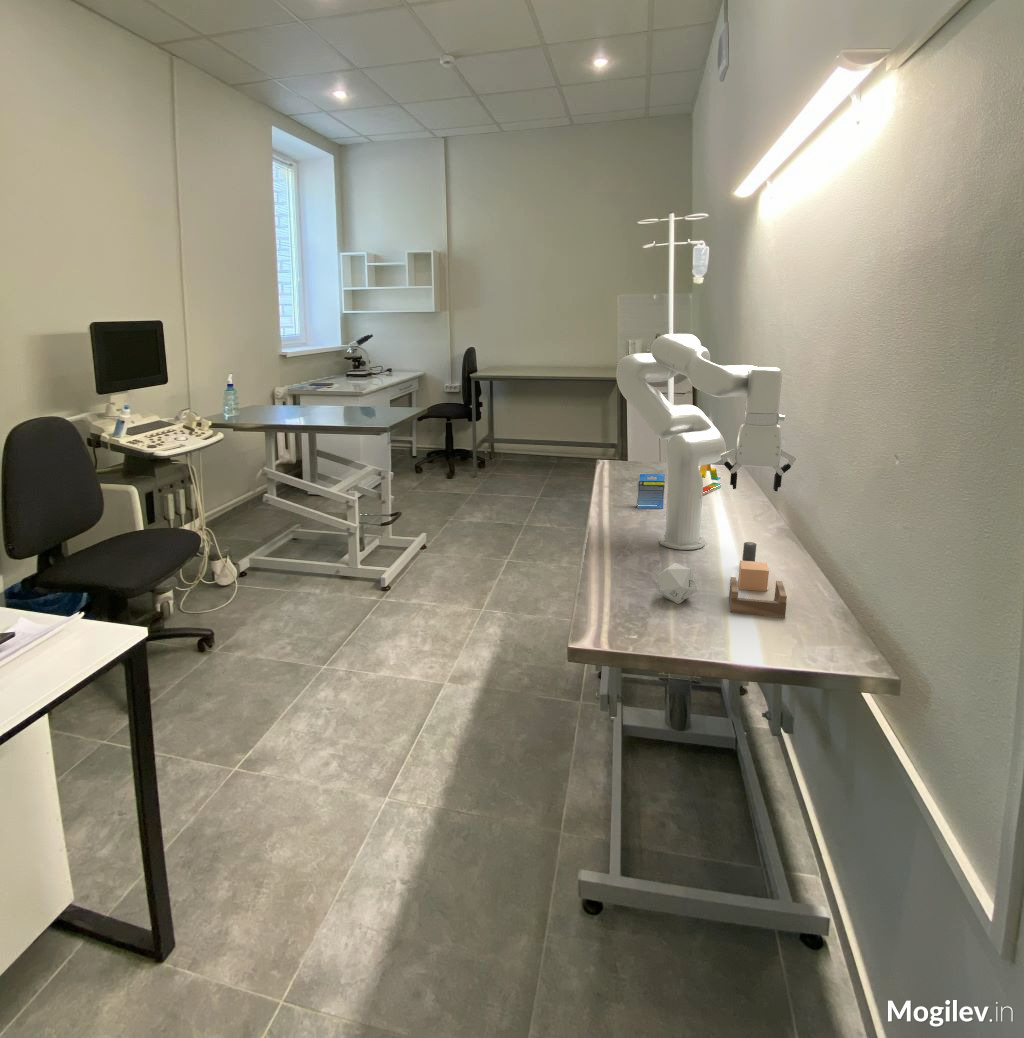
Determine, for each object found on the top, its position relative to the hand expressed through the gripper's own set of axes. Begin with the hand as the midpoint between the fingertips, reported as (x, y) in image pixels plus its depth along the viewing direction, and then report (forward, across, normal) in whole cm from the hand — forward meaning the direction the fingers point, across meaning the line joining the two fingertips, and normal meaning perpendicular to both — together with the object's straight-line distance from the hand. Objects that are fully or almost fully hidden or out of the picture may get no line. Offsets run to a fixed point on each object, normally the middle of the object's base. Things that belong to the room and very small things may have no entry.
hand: (754, 489), depth 162 cm
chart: (+21, +12, -79) cm, 83 cm away
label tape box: (+21, +29, -55) cm, 66 cm away
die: (+20, +17, +27) cm, 38 cm away
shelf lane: (+20, 0, +27) cm, 33 cm away
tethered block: (+20, 0, +8) cm, 22 cm away
